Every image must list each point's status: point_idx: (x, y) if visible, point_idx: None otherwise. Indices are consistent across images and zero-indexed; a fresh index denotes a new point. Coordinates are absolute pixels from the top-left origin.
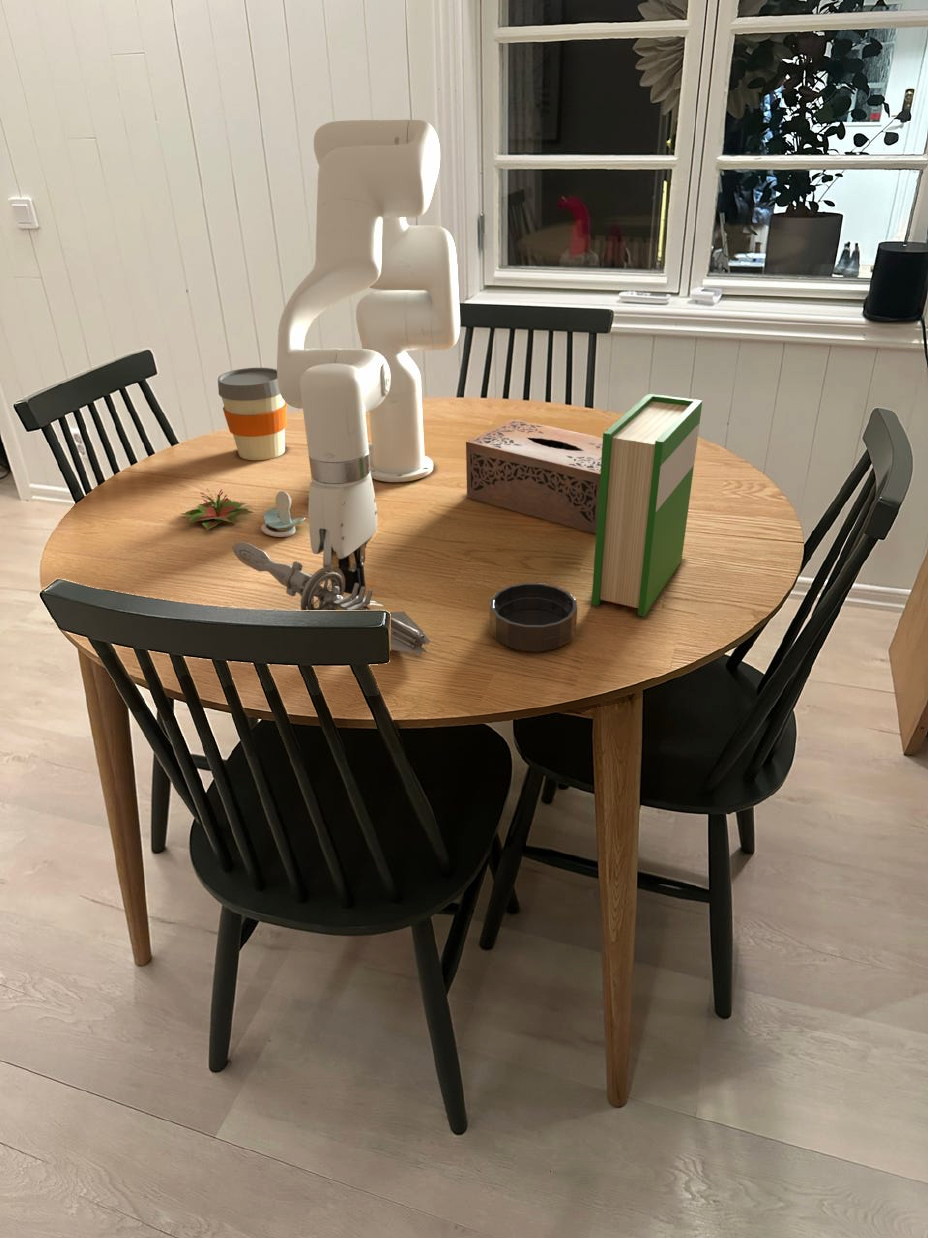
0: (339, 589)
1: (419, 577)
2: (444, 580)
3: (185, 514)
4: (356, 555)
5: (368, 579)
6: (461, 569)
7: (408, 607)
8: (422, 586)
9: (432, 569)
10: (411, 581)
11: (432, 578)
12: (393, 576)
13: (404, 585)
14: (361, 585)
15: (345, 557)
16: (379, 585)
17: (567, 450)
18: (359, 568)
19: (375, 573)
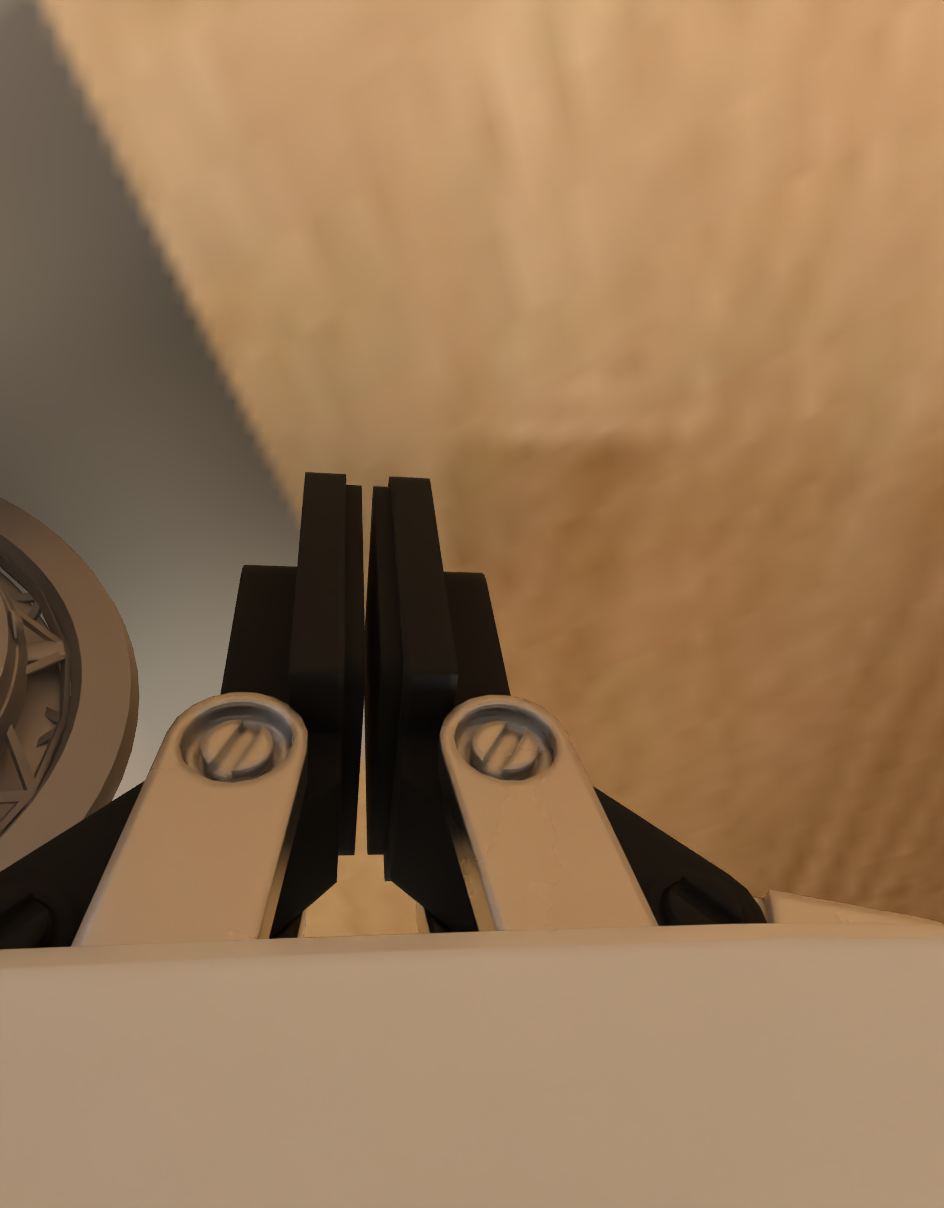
0: (23, 711)
1: (780, 776)
2: (750, 883)
3: None
4: (466, 917)
5: (716, 493)
6: (889, 899)
7: (379, 861)
8: (659, 828)
9: (894, 795)
10: (718, 759)
11: (771, 833)
12: (785, 640)
13: (655, 747)
14: (364, 699)
15: (437, 776)
16: (625, 612)
17: None
18: (372, 851)
19: (833, 500)
